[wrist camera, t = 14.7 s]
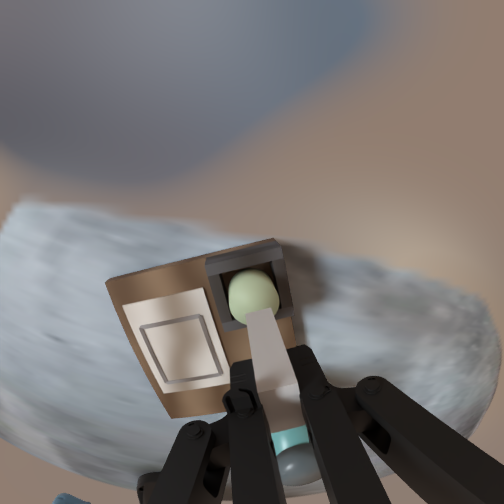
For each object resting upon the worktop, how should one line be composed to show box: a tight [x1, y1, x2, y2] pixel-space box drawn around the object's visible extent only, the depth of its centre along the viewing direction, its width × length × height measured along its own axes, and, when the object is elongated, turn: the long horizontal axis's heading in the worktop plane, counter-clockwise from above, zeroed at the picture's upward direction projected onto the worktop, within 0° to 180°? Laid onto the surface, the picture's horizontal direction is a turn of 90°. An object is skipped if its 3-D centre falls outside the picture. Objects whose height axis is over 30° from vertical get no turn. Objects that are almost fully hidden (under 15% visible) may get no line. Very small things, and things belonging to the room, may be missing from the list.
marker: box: [271, 424, 322, 486], centre depth 21 cm, size 4×4×12 cm
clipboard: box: [105, 238, 296, 419], centre depth 25 cm, size 16×18×4 cm
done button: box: [229, 268, 279, 325], centre depth 21 cm, size 4×4×3 cm
